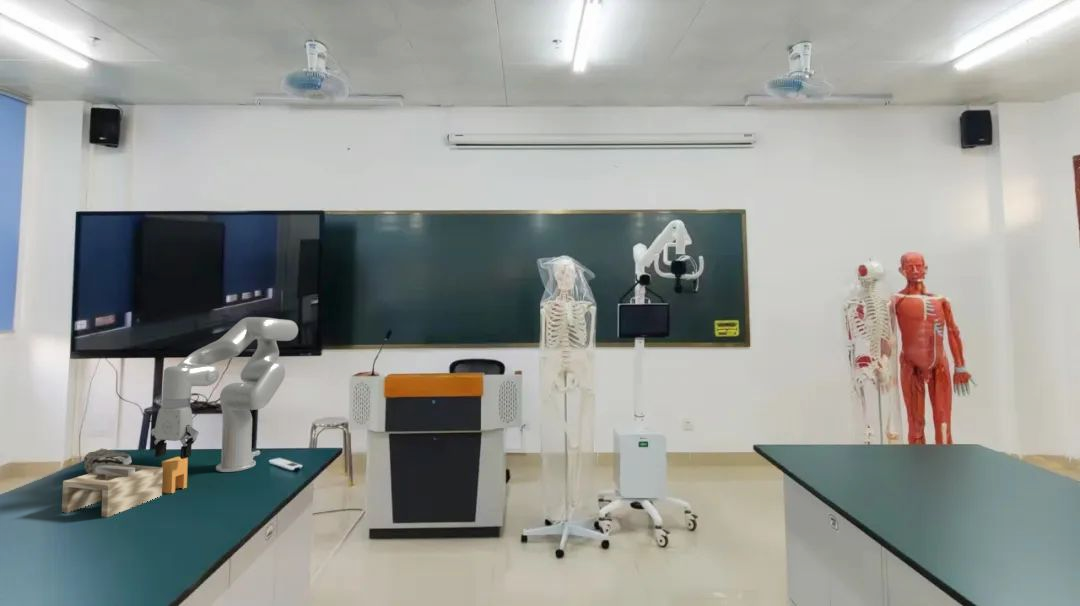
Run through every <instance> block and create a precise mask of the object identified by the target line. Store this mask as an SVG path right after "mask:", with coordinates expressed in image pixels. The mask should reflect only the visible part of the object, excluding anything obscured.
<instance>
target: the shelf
mask: <svg viewBox="0 0 1080 606" xmlns="http://www.w3.org/2000/svg"><path fill="white" fill-rule="evenodd" d="M162 478H163V467H162V466H149V465H140V464H139V465H138V464H137V465H136V464H129V465H126V464H120V465H116V466H108V465H101V466H98V467H96V471H95V472H93V473H87V474H83V475H79V476H77V477H73V478H70V479H65V480H63V481H62V494H61V495H62V498H61V501H62V503H61V513H62V512H64V513H63V514H70V513H72V512H75V511H77V509H78V510H80V508H81V509H83V508H85V506H86V507H88V505H89V506H92V505H95V504H97V502H98V503H101V518H110V517H111V516H114V514H115V515H116V514H120V513H122V512H124V511H127V510H130V509H132V507H133V508H134V507H135V508H136V507H137V505H138V506H140V505H143V504H145V503H148V502H150V500H151V501H153V500H155V498H156V499H158V498H161V497H163V493H162ZM160 496H161V497H160ZM157 497H158V498H157ZM152 499H153V500H152ZM147 501H148V502H147ZM142 503H143V504H142ZM91 504H92V505H91ZM74 510H75V511H74ZM71 511H72V512H71ZM119 512H120V513H119Z"/></svg>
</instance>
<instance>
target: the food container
mask: <svg viewBox="0 0 1080 606" xmlns="http://www.w3.org/2000/svg"><path fill="white" fill-rule="evenodd" d="M132 462H133V461H132V457H131V456H130V454H128V453H124V454H111V455H104V456H99V457H94V458H92V460H91V463H90V464H92V473H93V472H95V471H96V467H98V466H101V465H108V466H116V465H120V464H126V465H131V463H132Z"/></svg>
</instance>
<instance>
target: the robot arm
mask: <svg viewBox="0 0 1080 606" xmlns="http://www.w3.org/2000/svg"><path fill="white" fill-rule="evenodd" d="M298 333H299V327H298V325H297V323H296V322H295V321H293V320H291V319H281V318H280V319H279V318H273V317H264V316H263V317H262V316H261V317H259V316H257V317H256V316H248V317H244V318H242V319H240V320H239V321H238V322H237V323H236V324H235V325H233V326H232V328H230V329H229V330H228V331H227V332H226V333H224V334H223V336H221V337H220V338H219V339H217V340H215V341H213V342H210V343H208V344H207V345H205V346H203V347H201V348H198V349H196V350H195V351H193V352H192V353H190V354H189V355H188V356H186V357H185V358H183V360H181V361H180V362H179V363H178V364H177V365H174V366H167V367H165V369H164V370H163V378H162V379H163V380H162V390H161V391H162V392H161V394H162V395H161V407H160V408H159V410H158V412H157V416H156V421H155V426H154V428H152V429H151V430H150V433H151V438H152V440H153V441H154V442H153V443H154V445H155V453H154V456H155V457H156V458H158V457H162V456H166V455H167V447H168V445H167V444H168V443H167V442H166V441H169V442H170V441H172V442H173V441H175V442H176V441H180V444H182V446H181V447H180V457H181V459H184V458H190V457H191V456H192V445H194V443H195V441H196V440H197V438H198V435H199V433H200V432H199V431H197V430H196V429H195V428H193V411H192V408H191V402H192V401H191V400H192V399H191V398H192V397H191V396H192V387H208V386H212V385H214V384H215V383H216V382H217V381H218V380H219V378H220V371H219V369H218V368H217V367H216V366H214V365H212V364H215V363H218V362H223V361H226V360H230V359H232V358H235V357H238V356H239V355H240V354H241V353H242V352H243V351H244V350H245V349H247V347H248V346H249V345H251V343H252V342H254V341H255V340H257V348H256V350H255V351H254V353H253V354H252V356H251V357H250V358H249V360H248V361H247V362H246V364H245V366H244V367H243V368H242V370H241V372H240V380H241V381H242V382H233V383H229V384H227V385H225V386H224V387H223V388H222V389H221V392H220V394H219V403H220V406H221V407H220V408H221V412H222V413H221V414H222V427H221V428H222V430H221V431H222V432H221V434H222V435H221V458H220V459H221V461H220V463H219V464H217V465H216V466H215V470H216V471H217V472H221V473H230V472H231V473H233V472H240V471H245V470H248V469H251V468H254V467H255V466H256V464H257V462H256V460H255V459H254V458H255V457H257V456H259V455H261V451H260V450H259V449H257V450H254V451H252V445H253V443H252V440H253V436H252V435H253V416H252V412H251V410H256V411H257V410H261V409H263V408H265V407H266V406H267V405H268V404H269V403H270V401H271V400H272V398H273V397H274V396H275V394H276V392H277V391H278V389H279V388H280V386H281V385H282V383H283V381H284V379H285V375H286V370H285V366H284V364H282V363H281V362H279V361H278V359H279V357H280V350H279V346H278V344H277V343H278V342H277V341H280V342H283V341H284V342H288V341H292V340H294V339H295V338H296V337H297V336H298Z"/></svg>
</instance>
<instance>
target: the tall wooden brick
mask: <svg viewBox="0 0 1080 606" xmlns="http://www.w3.org/2000/svg"><path fill="white" fill-rule="evenodd" d="M188 458H189V457H188ZM188 458H184V459H181V456H175V457H173V458H172V457H171V458H169V459H165V460H162V461H161V467H163V478H162V492H163V493H162V494H170V493H172V494H174V493H176V489H179V488H182V490H185V489H186V488H188V467H189V466H188V464H189V462H188V461H189V459H188ZM184 488H185V489H184Z"/></svg>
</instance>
